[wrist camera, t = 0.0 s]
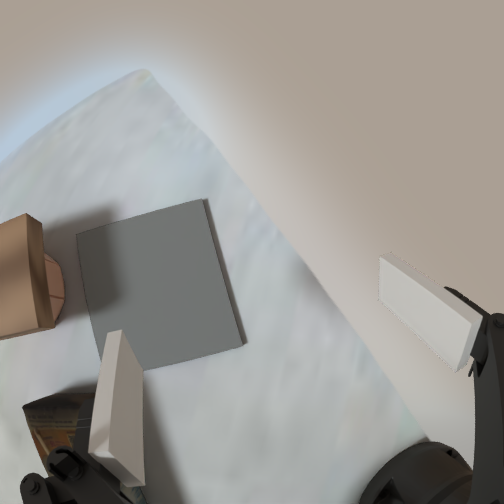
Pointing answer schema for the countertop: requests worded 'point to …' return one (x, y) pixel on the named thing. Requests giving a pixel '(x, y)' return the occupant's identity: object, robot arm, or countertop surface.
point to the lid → (23, 279)
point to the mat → (158, 286)
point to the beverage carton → (61, 428)
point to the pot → (55, 285)
